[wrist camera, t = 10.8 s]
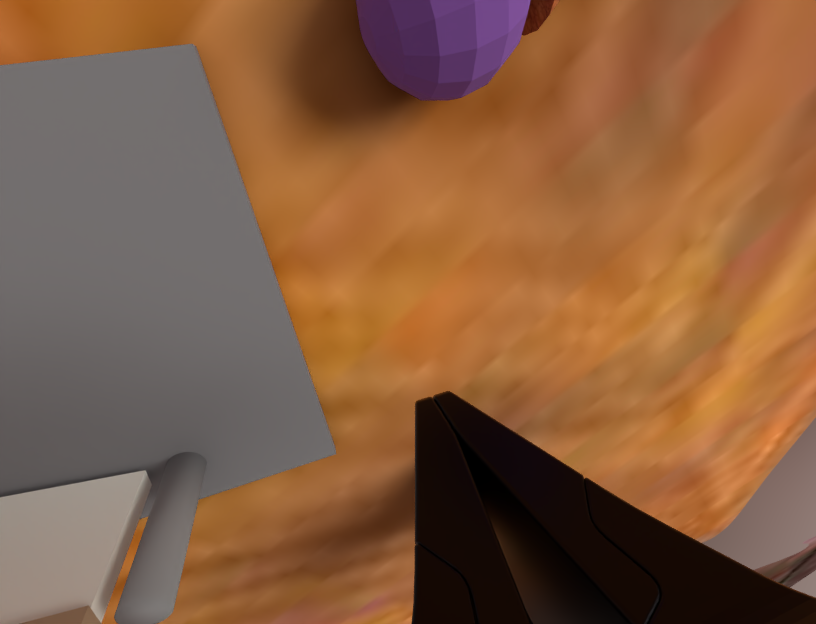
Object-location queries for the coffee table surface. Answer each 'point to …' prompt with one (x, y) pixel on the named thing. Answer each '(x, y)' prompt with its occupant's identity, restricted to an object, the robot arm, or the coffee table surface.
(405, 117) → the coffee table surface
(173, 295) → the flat gray base plate
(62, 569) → the gate
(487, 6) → the kendama
